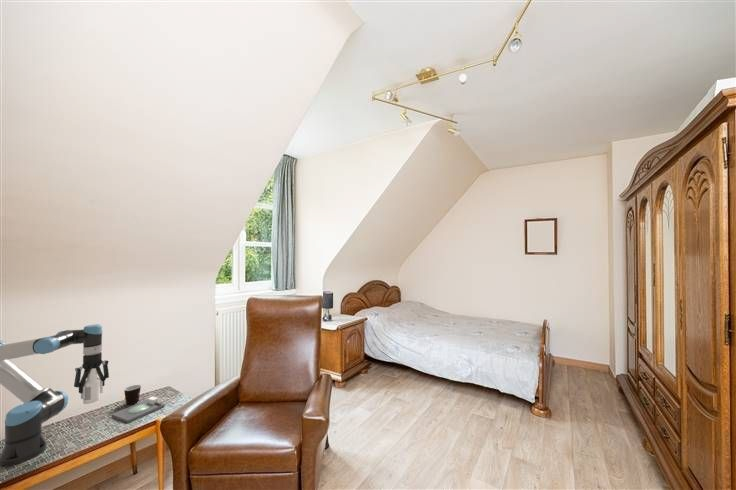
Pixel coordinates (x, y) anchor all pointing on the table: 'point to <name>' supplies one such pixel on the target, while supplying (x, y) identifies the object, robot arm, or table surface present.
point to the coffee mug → (132, 394)
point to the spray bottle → (92, 387)
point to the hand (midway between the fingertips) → (91, 395)
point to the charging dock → (138, 410)
